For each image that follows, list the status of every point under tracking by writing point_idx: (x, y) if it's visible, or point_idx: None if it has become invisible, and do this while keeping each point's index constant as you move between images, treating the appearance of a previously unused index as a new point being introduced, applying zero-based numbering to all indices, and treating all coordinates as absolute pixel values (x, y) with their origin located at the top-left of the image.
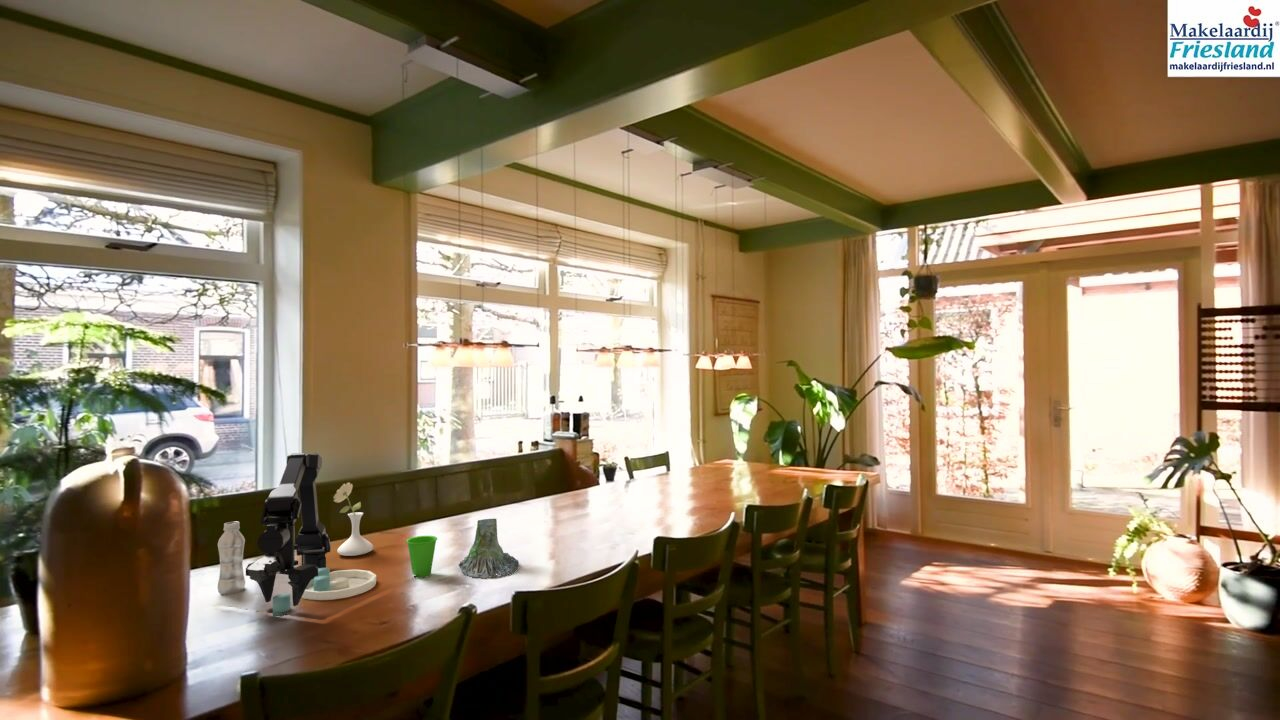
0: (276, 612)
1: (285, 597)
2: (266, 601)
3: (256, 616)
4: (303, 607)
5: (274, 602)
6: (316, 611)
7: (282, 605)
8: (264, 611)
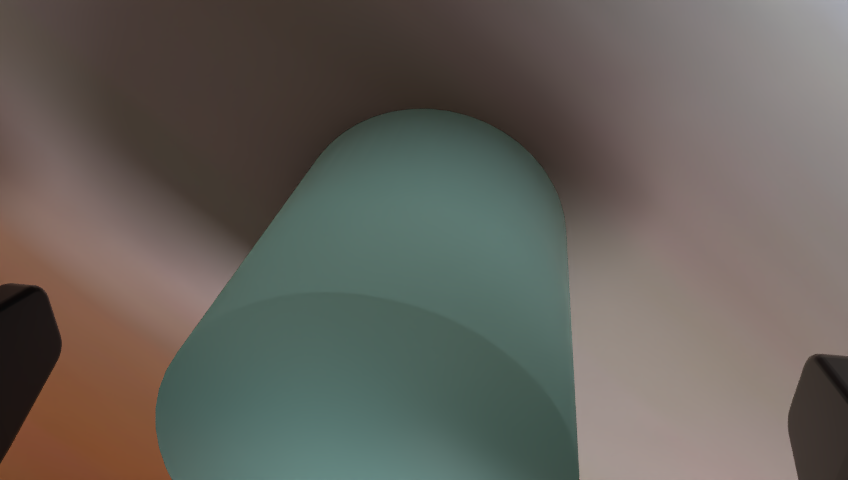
0: (382, 138)
1: (167, 410)
2: (834, 361)
3: (817, 6)
4: None
5: (395, 235)
6: None
7: (254, 251)
8: (833, 254)
